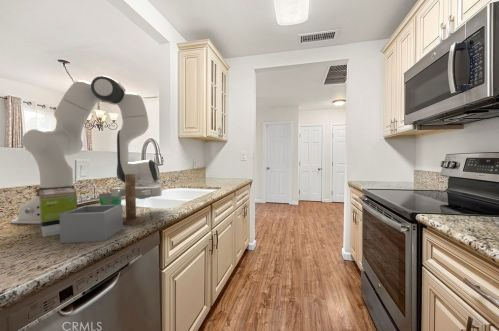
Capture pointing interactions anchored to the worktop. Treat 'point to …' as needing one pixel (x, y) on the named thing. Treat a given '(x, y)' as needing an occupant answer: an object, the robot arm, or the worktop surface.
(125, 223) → the brown wooden post
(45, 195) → the tea box
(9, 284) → the worktop surface
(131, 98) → the robot arm
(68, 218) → the gray open-top rectangular bin
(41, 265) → the worktop surface
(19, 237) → the worktop surface
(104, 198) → the food container
